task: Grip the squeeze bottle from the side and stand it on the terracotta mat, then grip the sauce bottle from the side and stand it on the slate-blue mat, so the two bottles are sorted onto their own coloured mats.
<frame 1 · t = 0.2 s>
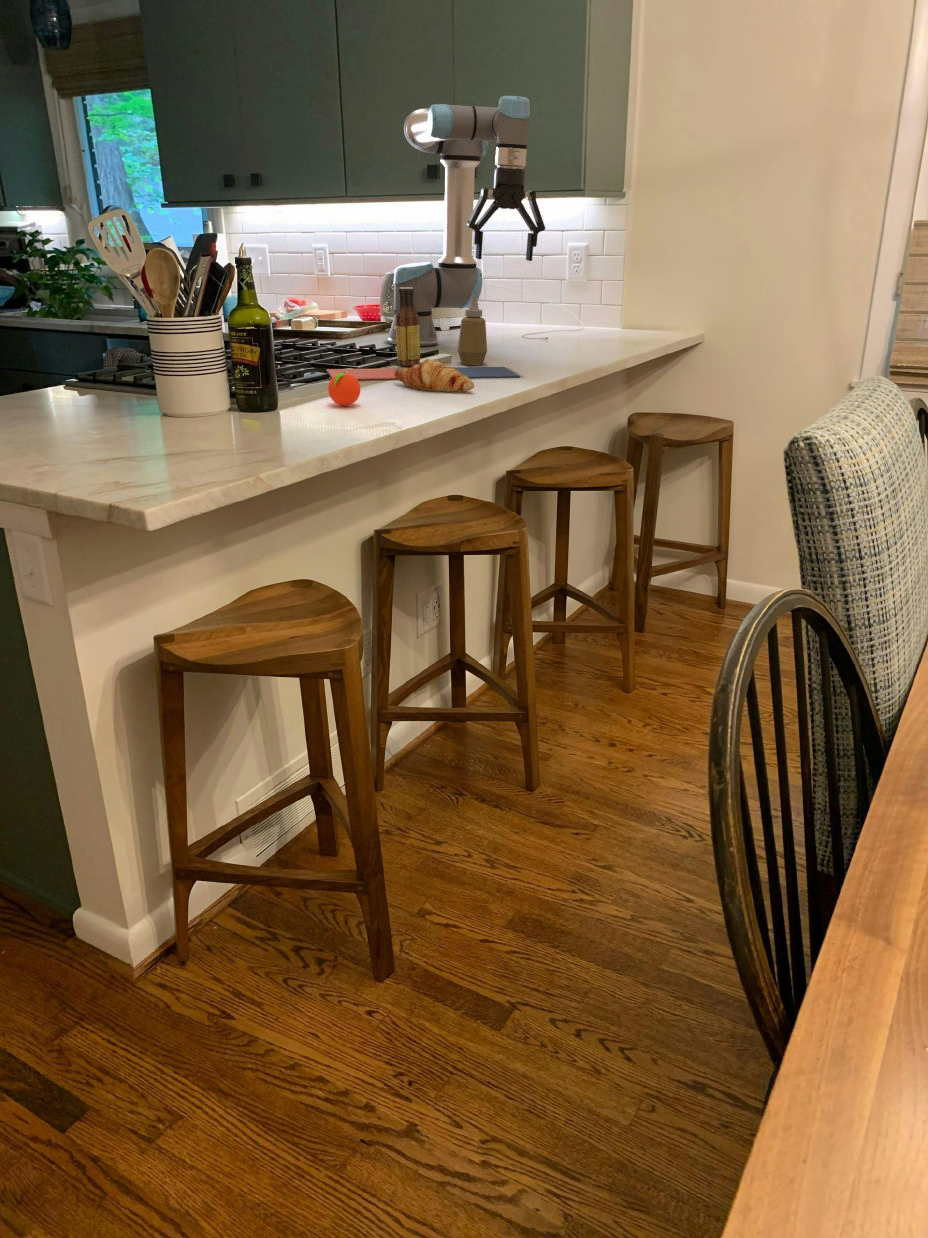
hand: (503, 259, 239), 28 cm above the table, tool pointing down, fingers open, 13 cm apart
croissant: (433, 389, 222), on the table
terracotta mat: (365, 374, 236), on the table
sauce bottle: (407, 365, 252), on the table
squeeze bottle: (471, 364, 257), on the table
slate mat: (478, 373, 244), on the table
clementine: (343, 406, 201), on the table
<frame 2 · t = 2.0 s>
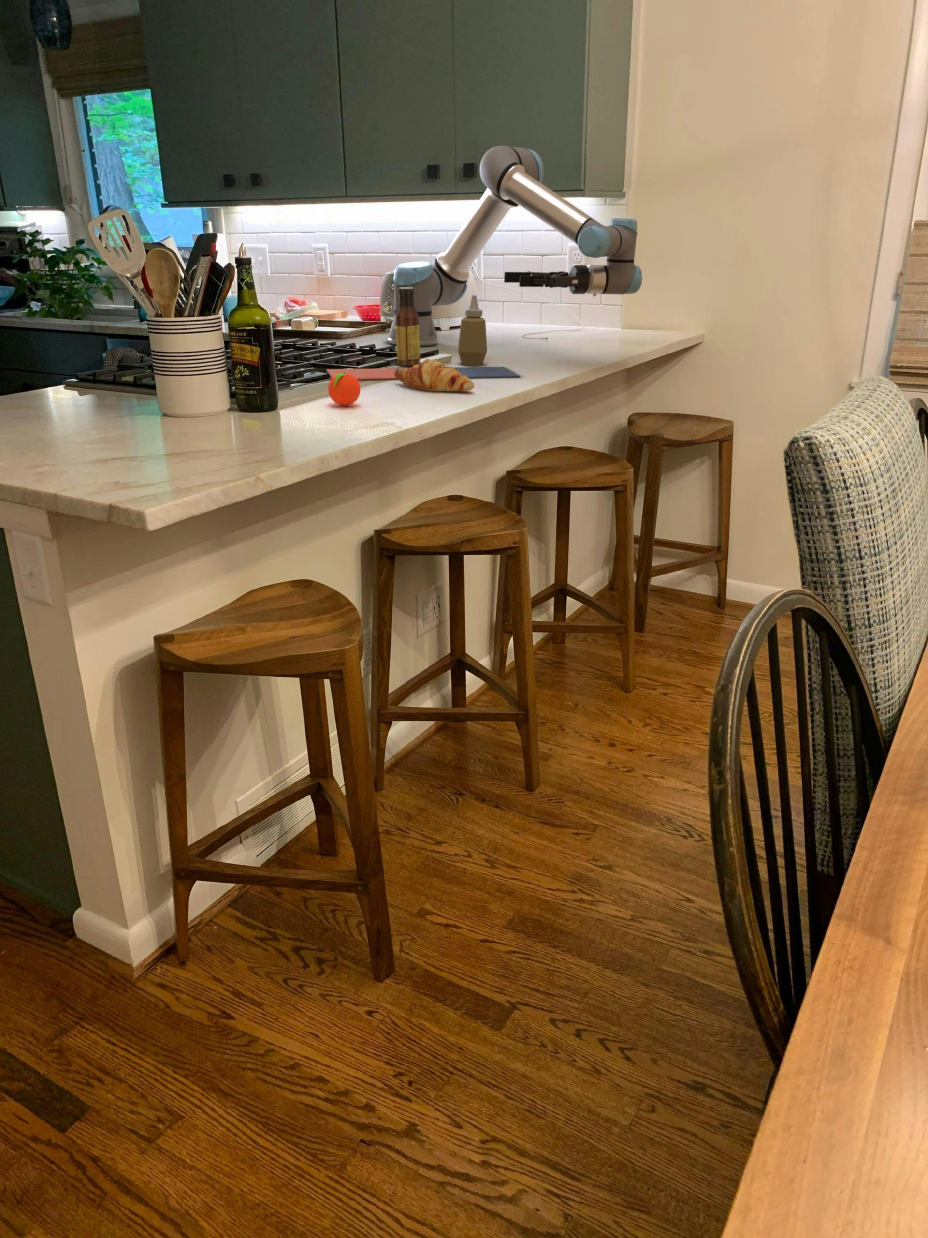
hand: (511, 278, 250), 22 cm above the table, tool horizontal, fingers open, 13 cm apart
nothing on the table moved.
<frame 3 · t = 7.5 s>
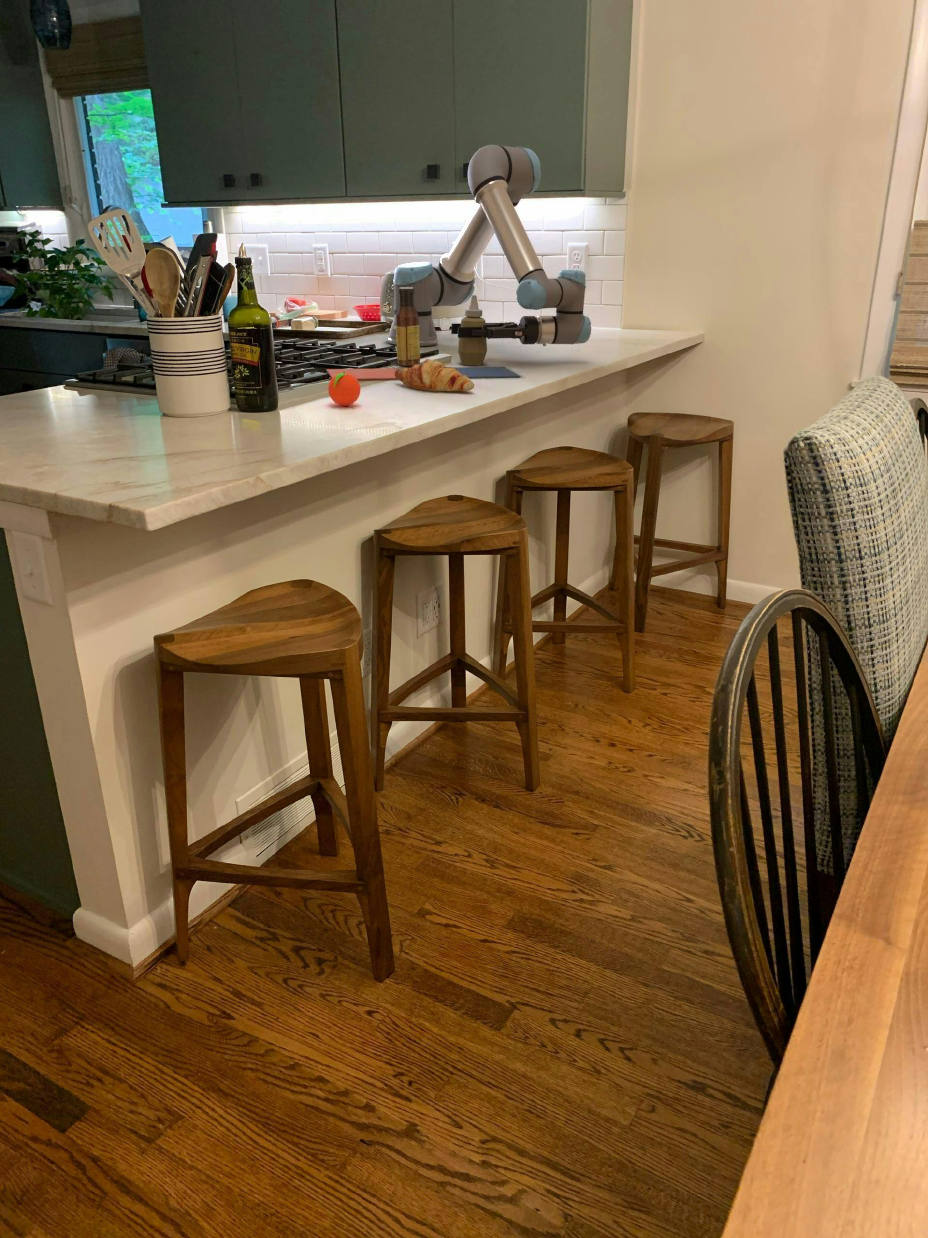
hand: (455, 330, 252), 9 cm above the table, tool horizontal, fingers closed on squeeze bottle, 6 cm apart
squeeze bottle: (471, 364, 257), on the table, touching gripper
everything else where it was.
when the fingers open (9 cm above the table, at t = 21.3 s): squeeze bottle stays where it is, resting on terracotta mat.
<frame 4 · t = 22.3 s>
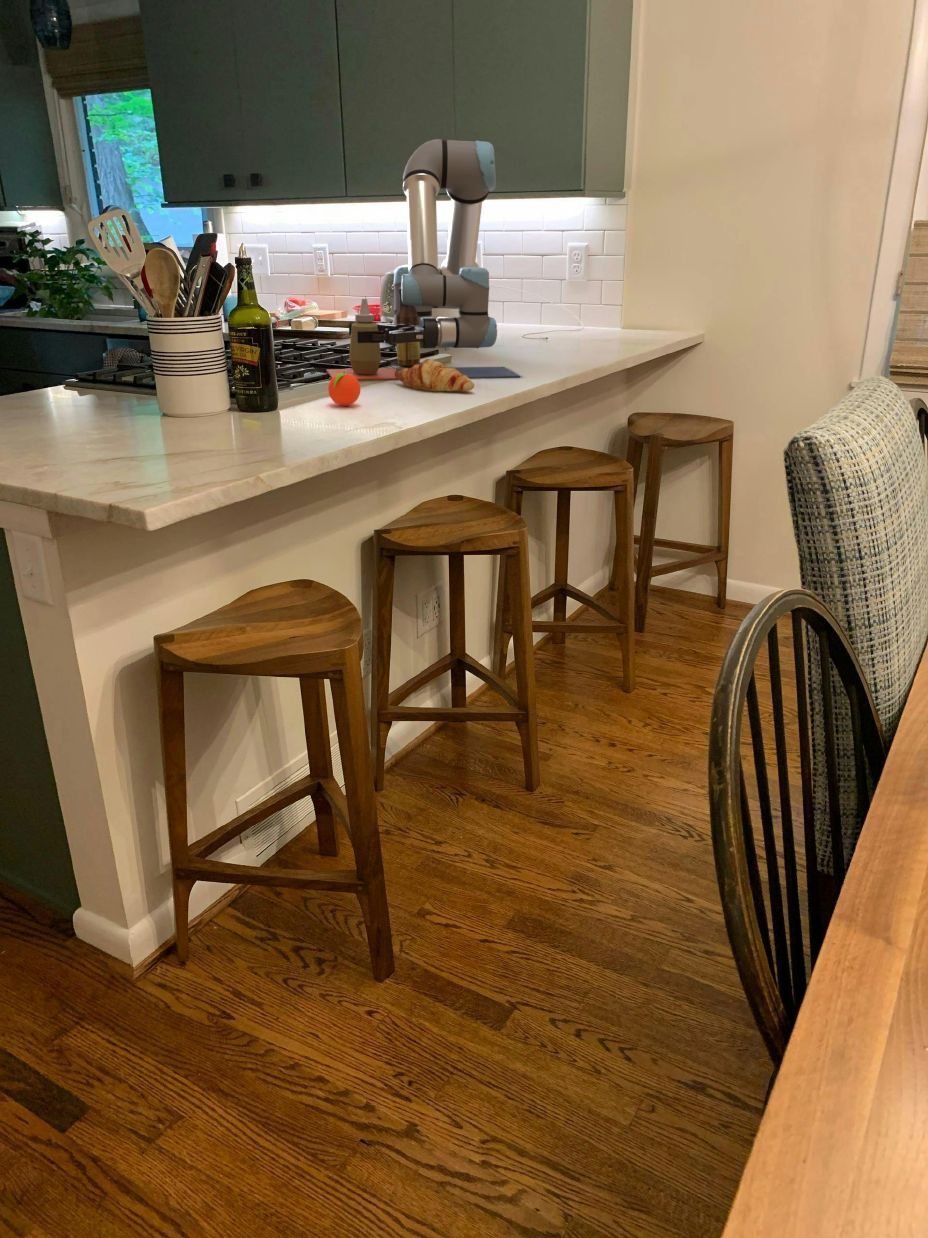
hand: (353, 332, 232), 10 cm above the table, tool horizontal, fingers open, 13 cm apart
squeeze bottle: (365, 374, 236), resting on terracotta mat
everything else where it was.
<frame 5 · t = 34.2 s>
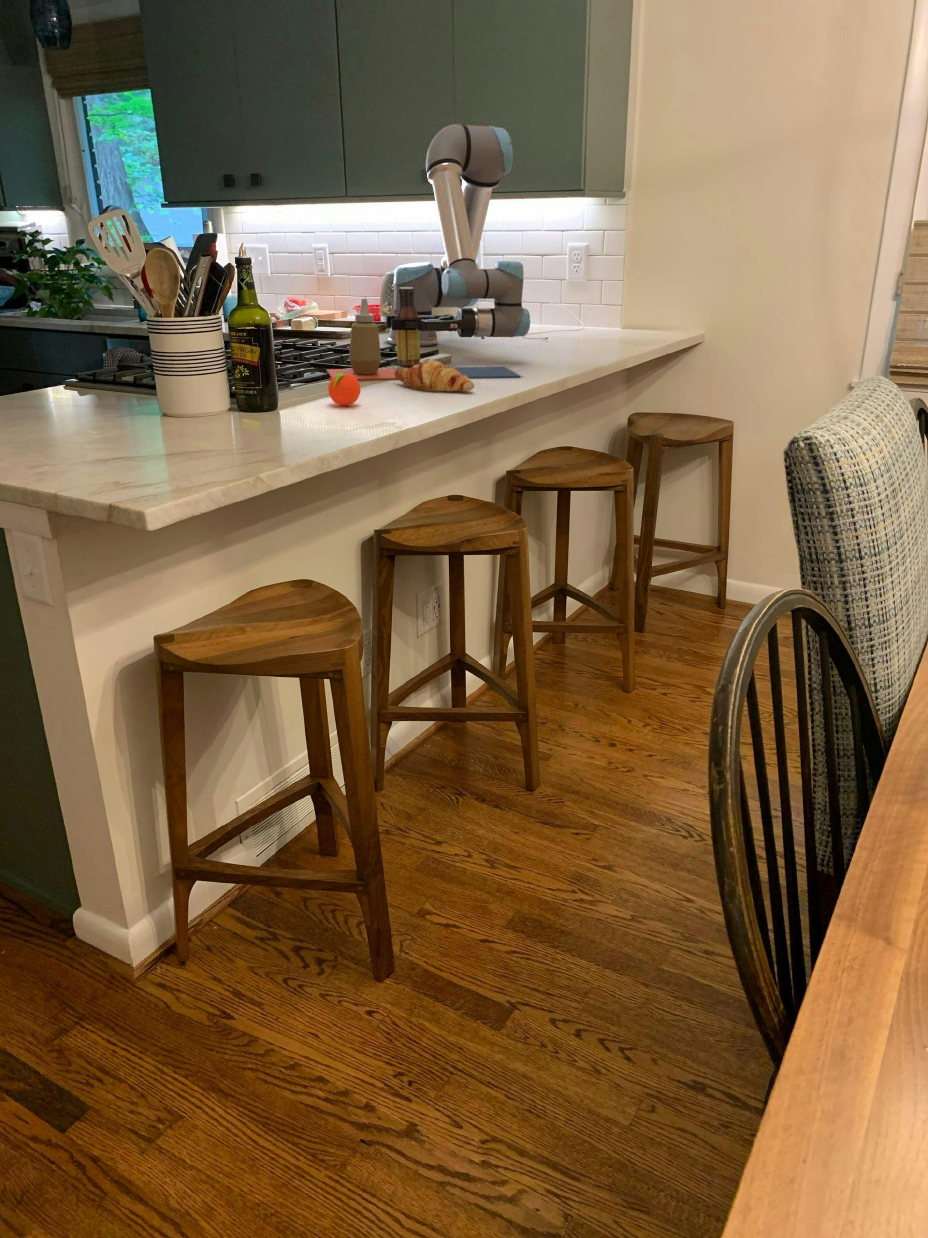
hand: (389, 322, 246), 11 cm above the table, tool horizontal, fingers closed on sauce bottle, 6 cm apart
sauce bottle: (407, 365, 252), on the table, touching gripper
everything else where it was.
when the fingers open (11 cm above the table, at t = 45.5 s): sauce bottle stays where it is, resting on slate mat.
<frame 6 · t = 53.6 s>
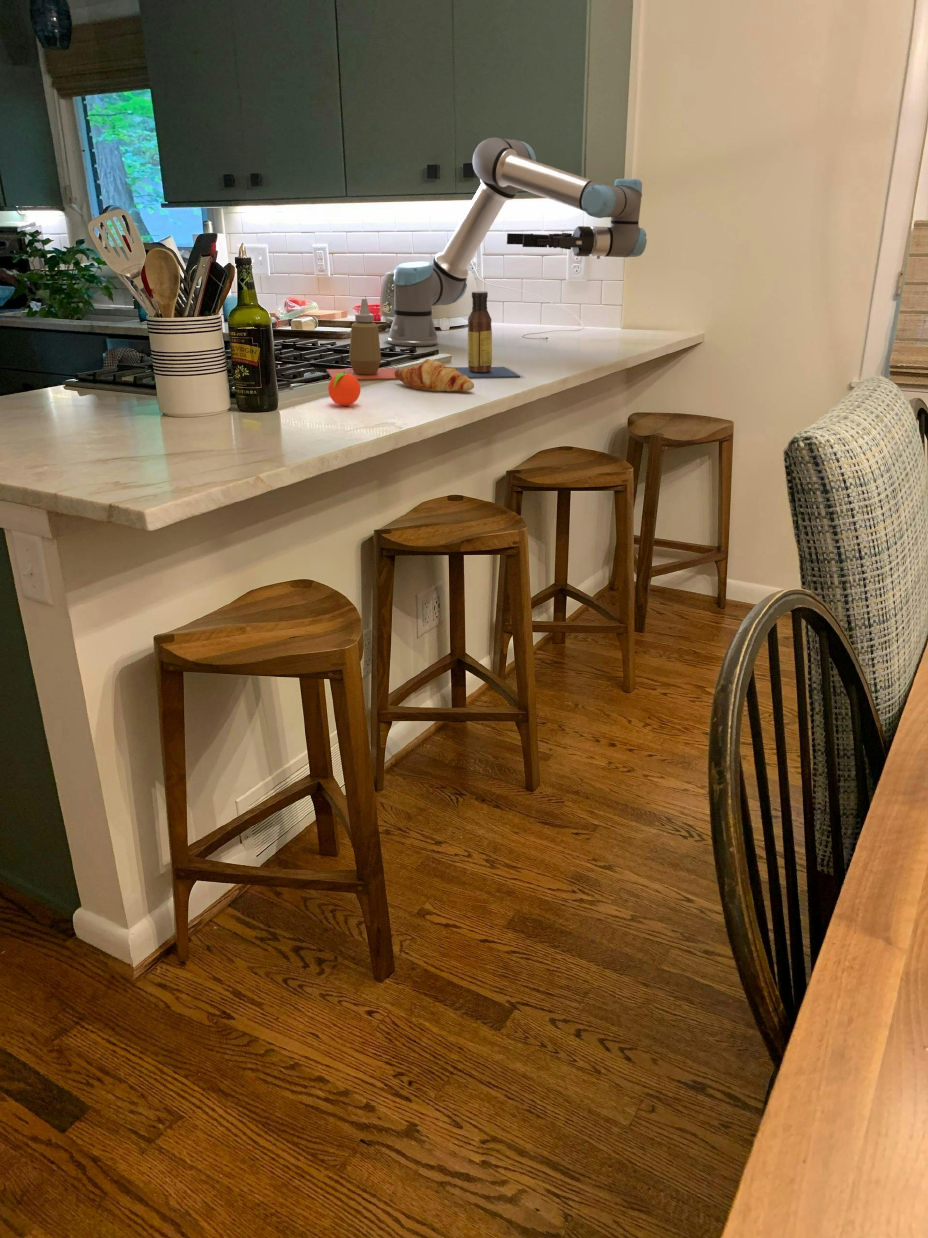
hand: (514, 239, 246), 32 cm above the table, tool horizontal, fingers open, 13 cm apart
sauce bottle: (478, 372, 244), resting on slate mat
everything else where it was.
at the end: squeeze bottle inside the target area on the terracotta mat (0.0 cm from its centre), point 0.2 cm above the terracotta mat's base; sauce bottle inside the target area on the slate mat (0.0 cm from its centre), point 0.2 cm above the slate mat's base; sauce bottle tilted 0° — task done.
